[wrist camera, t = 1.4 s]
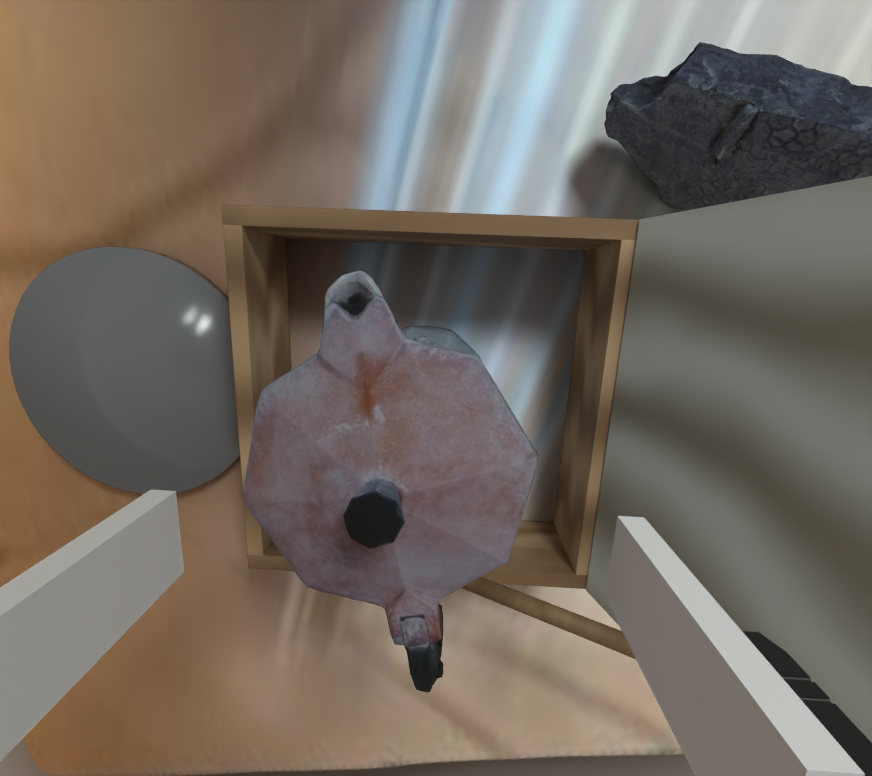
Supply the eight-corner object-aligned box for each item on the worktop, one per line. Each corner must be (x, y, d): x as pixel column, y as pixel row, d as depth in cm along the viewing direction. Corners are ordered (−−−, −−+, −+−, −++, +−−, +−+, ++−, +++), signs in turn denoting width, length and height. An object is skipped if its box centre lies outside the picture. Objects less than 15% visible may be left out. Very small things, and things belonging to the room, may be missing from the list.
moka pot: (469, 265, 28) (508, 212, 8) (514, 473, 31) (616, 777, 12) (335, 300, 29) (89, 323, 9) (392, 498, 32) (300, 818, 13)
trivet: (0, 242, 29) (-15, 241, 28) (257, 253, 28) (250, 251, 27) (47, 481, 33) (34, 487, 32) (271, 494, 32) (265, 500, 31)
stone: (570, 197, 27) (639, 144, 17) (598, 92, 25) (690, -32, 16) (780, 243, 27) (967, 216, 17) (819, 141, 25) (1047, 49, 16)
